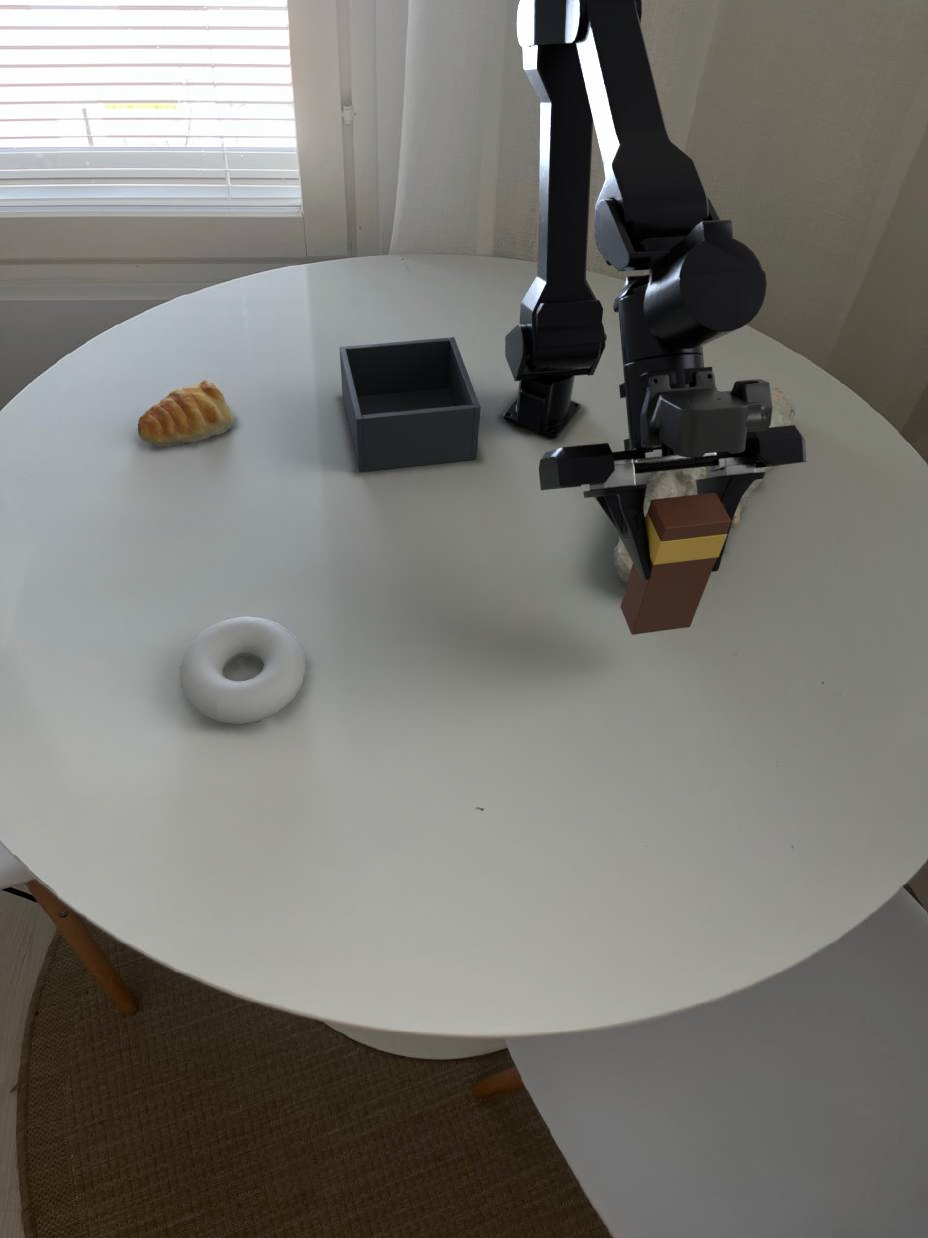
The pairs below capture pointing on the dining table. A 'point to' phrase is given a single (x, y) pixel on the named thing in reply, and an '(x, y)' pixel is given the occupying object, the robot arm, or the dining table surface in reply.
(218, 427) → the pastry
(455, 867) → the dining table surface
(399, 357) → the waste bin
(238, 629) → the donut
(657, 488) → the long grey stone
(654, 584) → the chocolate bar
